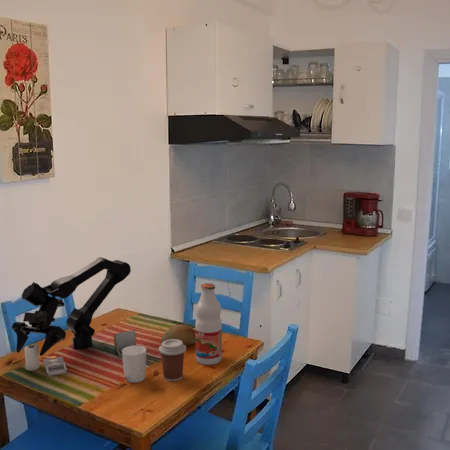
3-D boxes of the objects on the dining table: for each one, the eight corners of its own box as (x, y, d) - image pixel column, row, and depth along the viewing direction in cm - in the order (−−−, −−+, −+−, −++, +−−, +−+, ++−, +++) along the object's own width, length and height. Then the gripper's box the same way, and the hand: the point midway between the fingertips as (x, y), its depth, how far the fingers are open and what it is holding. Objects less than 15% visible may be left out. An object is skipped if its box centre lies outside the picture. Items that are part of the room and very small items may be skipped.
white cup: (127, 385, 175) (126, 356, 174) (120, 376, 182) (119, 348, 181) (150, 380, 179) (149, 352, 177) (142, 371, 186) (141, 343, 184)
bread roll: (203, 346, 208) (203, 326, 206) (166, 353, 201) (166, 333, 200) (193, 338, 216) (192, 319, 215) (157, 344, 210) (157, 325, 208)
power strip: (43, 363, 193) (43, 356, 192) (62, 360, 195) (62, 353, 195) (47, 380, 179) (47, 373, 179) (67, 377, 182) (67, 370, 181)
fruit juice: (227, 359, 196) (226, 284, 191) (210, 367, 188) (209, 290, 184) (207, 352, 201) (206, 279, 197) (190, 361, 194) (189, 285, 190)
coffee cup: (175, 385, 175) (175, 350, 173) (153, 378, 180) (152, 344, 178) (192, 374, 183) (191, 341, 181) (170, 368, 188) (169, 336, 186)
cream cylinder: (39, 368, 189) (37, 343, 187) (40, 373, 185) (38, 347, 183) (25, 370, 187) (23, 345, 186) (26, 375, 183) (24, 349, 182)
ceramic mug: (114, 348, 206) (113, 329, 205) (136, 346, 208) (135, 327, 206) (115, 359, 196) (114, 339, 195) (137, 357, 198) (137, 337, 196)
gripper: (12, 299, 188) (-7, 341, 180) (59, 304, 183) (41, 347, 174) (28, 314, 197) (10, 354, 188) (73, 318, 192) (57, 360, 183)
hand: (29, 353), depth 183 cm, fingers open, 9 cm apart
